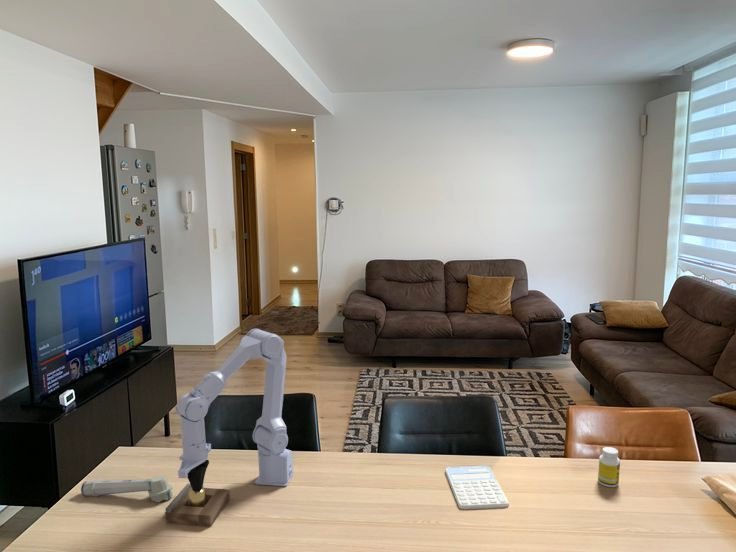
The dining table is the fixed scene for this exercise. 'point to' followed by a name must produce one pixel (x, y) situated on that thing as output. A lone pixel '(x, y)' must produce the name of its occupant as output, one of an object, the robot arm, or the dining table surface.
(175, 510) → the jig
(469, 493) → the calculator
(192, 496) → the tan cylinder
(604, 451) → the supplement bottle
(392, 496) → the dining table surface
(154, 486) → the grey long knobbed part
